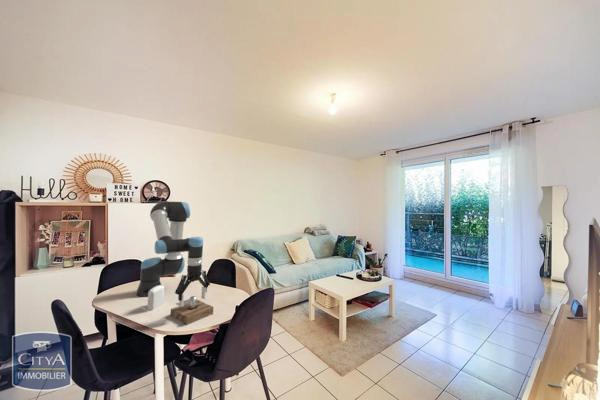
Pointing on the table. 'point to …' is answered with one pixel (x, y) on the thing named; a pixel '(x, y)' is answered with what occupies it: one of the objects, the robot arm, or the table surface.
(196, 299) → the mat
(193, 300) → the pin
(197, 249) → the robot arm
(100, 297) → the table surface
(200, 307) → the socket block
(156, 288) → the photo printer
